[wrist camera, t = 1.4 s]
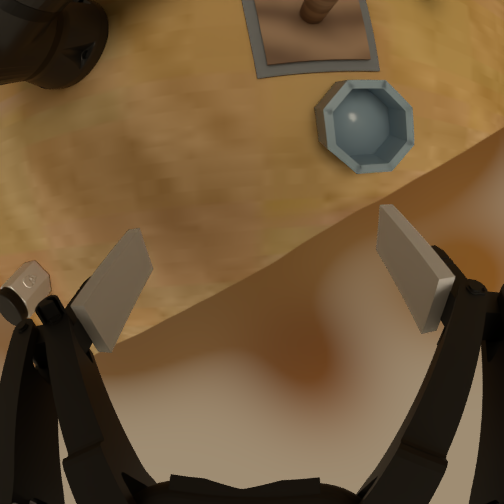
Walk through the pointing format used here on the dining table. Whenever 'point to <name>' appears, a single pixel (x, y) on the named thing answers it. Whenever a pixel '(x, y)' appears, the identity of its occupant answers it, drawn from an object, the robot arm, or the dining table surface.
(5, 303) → the jar
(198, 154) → the dining table surface
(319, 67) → the mat
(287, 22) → the lid
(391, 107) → the bowl
